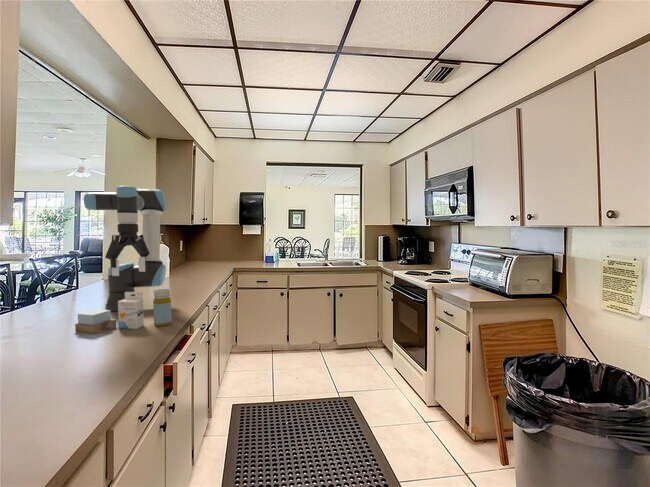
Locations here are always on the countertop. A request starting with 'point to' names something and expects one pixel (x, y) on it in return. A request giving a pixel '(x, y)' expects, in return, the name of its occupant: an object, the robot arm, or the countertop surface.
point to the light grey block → (94, 317)
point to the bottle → (162, 307)
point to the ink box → (131, 311)
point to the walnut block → (95, 327)
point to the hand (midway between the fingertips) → (129, 273)
